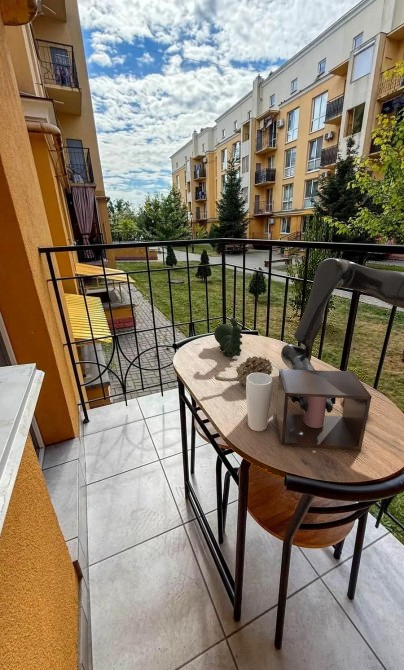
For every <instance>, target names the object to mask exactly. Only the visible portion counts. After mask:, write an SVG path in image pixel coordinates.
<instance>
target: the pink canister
mask: <svg viewBox="0 0 404 670" xmlns="http://www.w3.org/2000/svg"><path fill="white" fill-rule="evenodd" d="M306 401H307V404H308V409H307V411H304V410H303V415H304V418H303V421H304V423H305V424H306V425H307V426H309V427H312V428H320V427H322V426H323V425H324V417H325V416H326V411H327V410H326V402H327V397H306Z"/></svg>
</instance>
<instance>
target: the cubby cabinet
mask: <svg viewBox="0 0 404 670" xmlns="http://www.w3.org/2000/svg"><path fill="white" fill-rule="evenodd" d="M277 383H278V385H277V400H276V415H275V416H276V422H277V423H276V424H277V428H278V433H279V434H278V435H279V440H280V445H281V446H289V447H302V448H303V447H304V448H320V449H332V450H333V449H334V450H345V451H361V452H362V449H363V448H362V447H363V444H364V443H363V442H364V438H365V432H366V428H367V421H368V419H369V412H370V407H371V402H372V398H373V397H372V396H373V395H372V394H370V392H369V391H368V390H367V388H366V387H365V385H364V384H363V383H362V382H361V380H360V379H359V378H358V376H357V375H356V374H355V372H353V370H351V371H350V370H323V369H322V370H319V369H318V370H317V369H315V370H290V369H289V368H288V369H286V368H285V369H284V368H279V370H278V382H277ZM288 396H305V397H328V398H336V399H343V398H345V403H344V402H343V403H344V404H343V410H342V416H339V415H338V416H337V415H336V416H335V415H325V417H324V425H323V426H322V427H320V428H312V427H309V426H307V425H306V424H305V423H304V421H303V418H304V414H302V413H301V414H299V413H288V405H289V397H288ZM367 418H368V419H367Z"/></svg>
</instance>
